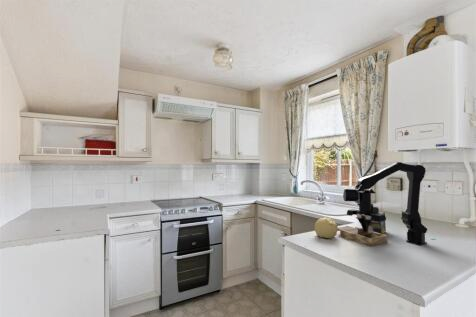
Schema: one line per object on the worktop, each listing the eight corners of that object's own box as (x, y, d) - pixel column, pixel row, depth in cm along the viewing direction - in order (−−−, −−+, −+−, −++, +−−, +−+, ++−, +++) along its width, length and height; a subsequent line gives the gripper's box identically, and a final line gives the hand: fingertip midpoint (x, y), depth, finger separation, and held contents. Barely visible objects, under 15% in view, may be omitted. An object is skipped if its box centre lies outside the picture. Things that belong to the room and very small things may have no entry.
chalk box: (386, 231, 140) (385, 206, 140) (381, 235, 133) (380, 208, 134) (369, 228, 146) (368, 204, 147) (363, 231, 140) (363, 206, 140)
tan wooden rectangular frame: (387, 242, 121) (387, 235, 121) (370, 246, 115) (370, 239, 115) (356, 233, 137) (356, 227, 137) (340, 236, 131) (340, 229, 131)
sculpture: (340, 240, 124) (339, 220, 124) (316, 239, 126) (315, 219, 127) (335, 234, 135) (335, 215, 135) (313, 233, 138) (313, 214, 138)
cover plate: (371, 234, 127) (371, 227, 127) (359, 237, 122) (359, 230, 122) (347, 227, 140) (347, 221, 140) (335, 229, 136) (335, 223, 136)
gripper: (392, 202, 120) (393, 233, 120) (359, 198, 137) (359, 225, 136) (378, 204, 115) (379, 236, 115) (345, 199, 132) (346, 227, 131)
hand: (365, 231), depth 125 cm, fingers closed
